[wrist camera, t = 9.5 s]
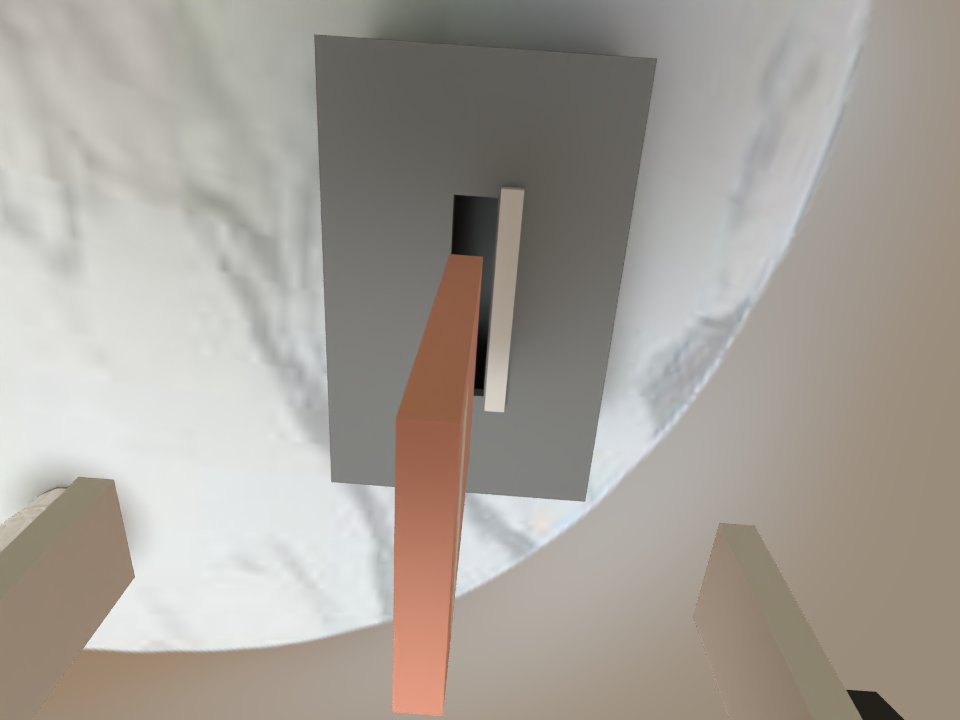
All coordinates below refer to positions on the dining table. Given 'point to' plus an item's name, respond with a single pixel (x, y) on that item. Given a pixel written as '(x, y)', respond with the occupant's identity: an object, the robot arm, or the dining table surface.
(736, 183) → the dining table surface
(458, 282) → the ticket
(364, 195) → the dispenser
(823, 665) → the robot arm
